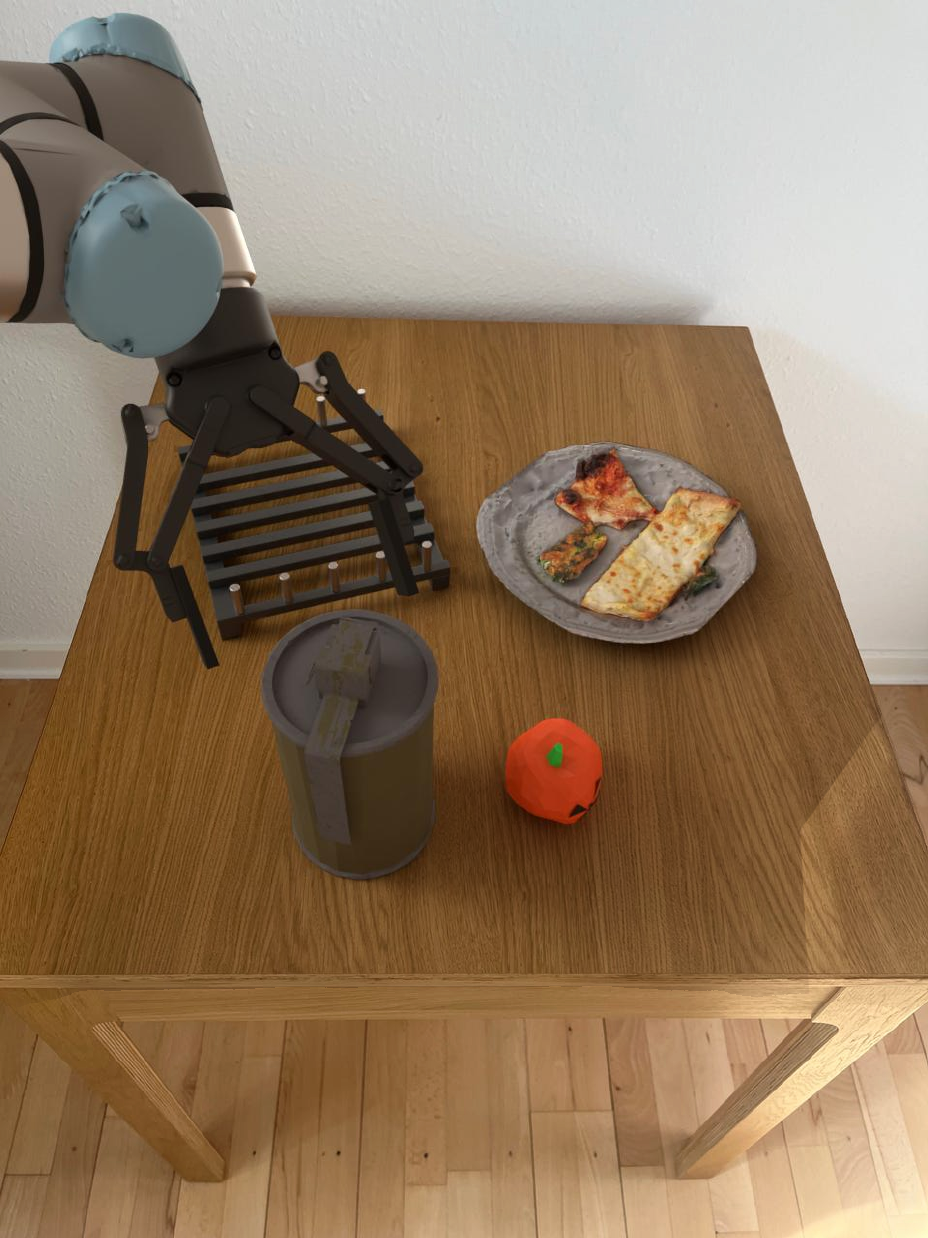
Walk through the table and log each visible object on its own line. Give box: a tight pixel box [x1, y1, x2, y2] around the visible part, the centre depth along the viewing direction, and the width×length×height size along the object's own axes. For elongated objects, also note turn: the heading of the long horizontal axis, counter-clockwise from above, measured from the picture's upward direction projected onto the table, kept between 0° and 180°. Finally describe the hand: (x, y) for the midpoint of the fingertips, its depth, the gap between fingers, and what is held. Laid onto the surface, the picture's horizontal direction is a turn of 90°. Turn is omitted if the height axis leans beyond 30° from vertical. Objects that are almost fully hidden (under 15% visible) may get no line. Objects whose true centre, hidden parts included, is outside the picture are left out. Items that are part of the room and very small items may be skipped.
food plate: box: [475, 440, 758, 645], centre depth 85 cm, size 25×23×4 cm
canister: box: [260, 608, 440, 880], centre depth 61 cm, size 11×10×20 cm
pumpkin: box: [505, 717, 603, 825], centre depth 68 cm, size 7×8×6 cm
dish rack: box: [176, 388, 451, 641], centre depth 85 cm, size 20×22×6 cm
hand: (313, 629), depth 61 cm, fingers open, 13 cm apart
